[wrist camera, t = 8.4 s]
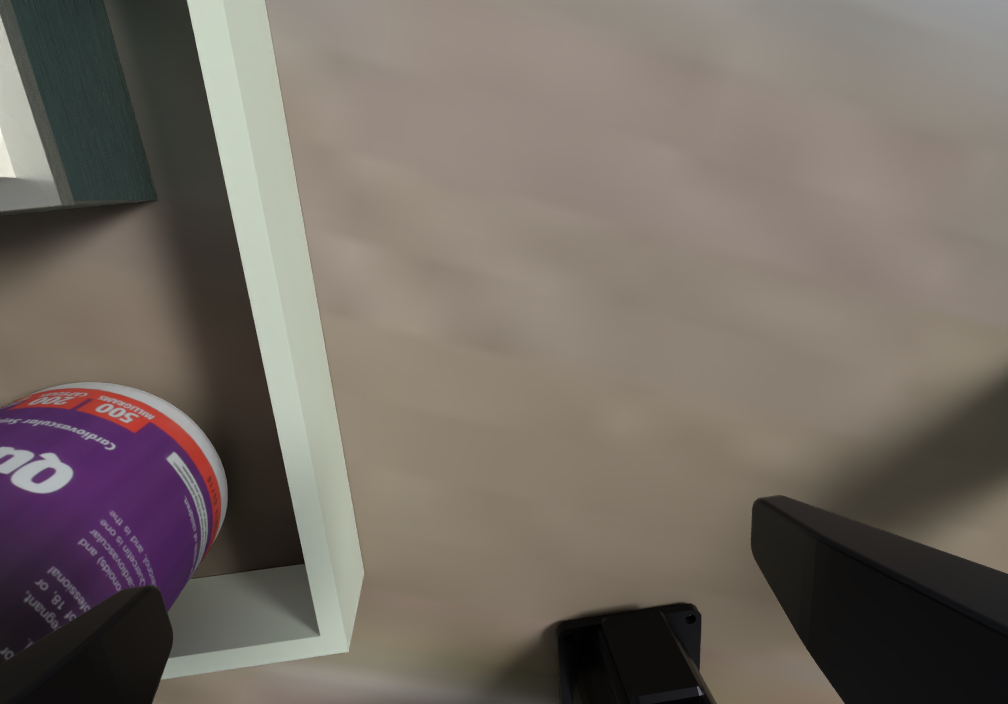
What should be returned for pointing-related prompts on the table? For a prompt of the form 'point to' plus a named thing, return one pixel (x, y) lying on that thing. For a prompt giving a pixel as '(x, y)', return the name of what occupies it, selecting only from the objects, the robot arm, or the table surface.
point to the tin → (66, 110)
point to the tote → (272, 377)
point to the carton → (5, 161)
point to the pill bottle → (98, 503)
